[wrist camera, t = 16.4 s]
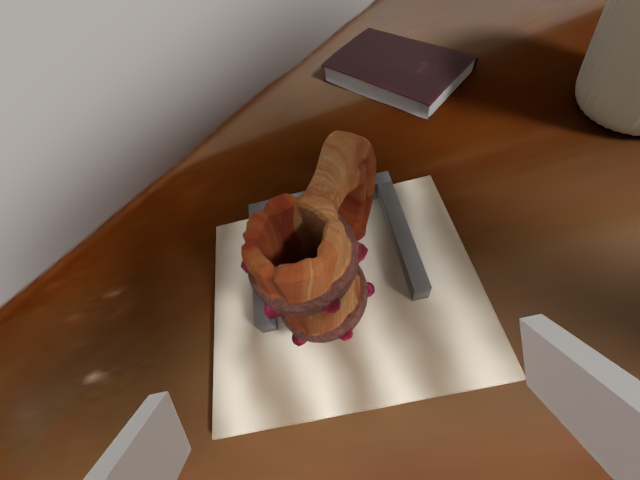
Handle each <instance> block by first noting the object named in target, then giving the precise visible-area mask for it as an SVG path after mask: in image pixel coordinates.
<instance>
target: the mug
mask: <svg viewBox="0 0 640 480" xmlns="http://www.w3.org/2000/svg"><path fill="white" fill-rule="evenodd" d="M375 179H376V158H375V153H374V150H373V147H372V145H371V143H370V142H369V141H368V140H367V139H366V138H364V137H362V136H359V135H356V134H353V133H351V132H344V131H339V130H336V131H334V132H332V133H331V134H330V135H328V137H327V139H326V140H325V142H324V144H323V146H322V149H321V153H320V156H319V160H318V163H317V167H316V171H315V174H314V176H313V178H312V180H311V182H310V184H309V185H308V187H307V189H306V191H305V192H304V193H303V194H302V195H301V196H297V197H295V196H293V195H291V194H287V193H284V194H281V195H278V196H276V197H273V198H271V199H270V200H269V201H267V202H266V203H265V206H264V209H263V210H262V211H258V212H255V213H254V214H252V215H251V217H250V218H249V220H248V221H247V226H246V231H245V232H244V233H243V238H244V240H245V244H243V245H242V246H241V255H242V260H243V261H242V263H241V268H242V269H243V270H244V271H245V272H246V273H248V278H249V281H250V284H251V287H252V288H253V290H254V292H255V293H256V295H257V296H258V297H259V298H260V299H261V300H262V301H263V302H264V303H265V304H264V312H265V315H266V316H267V317H268V318H269V320H270V319H273V318H276V317H279V316H281V319H282V321H283V322H284V324H285V326H286V327H287V328H288V329H289V330H290V331H291V332H292V333H293V334H292V341H293V343H294V344H295V345H297V346H301V345H303V344H305V343H306V342H307V341H309V342H313V343H327V342H332V341H334V340H337V339H341V340H343V341H347V340H349V339H351V338H352V336H353V331H352V330H353V329H354V328H355V326H356V325H357V324H358V323H359V321H360V320H361V318H362V316H363V314H364V311H365V308H366V305H367V299H368V297H370V296H372V295H373V294H374V292H375V288H374V285H373V284H372V283H370V282H366V279H365V276H364V273H363V271H362V269H361V268H360V266H359V262H361V261H362V260H363V259H364V258H365V256H366V254H367V252H368V249H367V248H366V246H365V245H364V244H362V243H359V242H358V241H359V240H360V239H362V238H363V237H364V236H365V234H366V226H367V222H368V218H369V214H370V210H371V205H372V200H373V195H374V190H375Z"/></svg>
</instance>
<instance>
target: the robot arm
mask: <svg viewBox="0 0 640 480" xmlns="http://www.w3.org/2000/svg"><path fill="white" fill-rule="evenodd" d="M519 321H520V330H521V339H522V348H523V357H524V366H525V374H526V383H527V386H528V387H529V388H530V389H531V390H532V391H533V392H534V394H535V395H536V396H537V397H538V398H539V399H540V400H541V401H542V402H543V403H544V404H545V406H546V407H547V408H548V409H549V410H550V411H551V412H552V413H553V414H554V415H555V416H556V417H557V419H558V420H559V421H560V422H561V423H562V424H563V425H564V426H565V427H566V428H567V429H568V431H569V432H570V433H571V434H572V435H573V436H574V437H575V438H576V439H577V440H578V441H579V442H580V444H581V445H582V446H583V447H584V448H585V449H586V450H587V451H588V452H589V453H590V454H591V456H592V457H593V458H594V459H595V460H596V461H597V462H598V463H599V464H600V465H601V466H602V467H603V469H604V470H605V471H606V472H607V473H608V474H609V475H610V476H611V477H612V478H613V479H614V480H640V380H638V379H637V378H635V377H634V376H632V375H631V374H630V373H628V372H627V371H625V370H624V369H622V368H621V367H619V366H618V365H616V364H615V363H613V362H612V361H610V360H609V359H607V358H606V357H605V356H603V355H602V354H600V353H599V352H597V351H596V350H594V349H593V348H591V347H590V346H588V345H587V344H585V343H584V342H582V341H581V340H579V339H578V338H577V337H575V336H574V335H572V334H571V333H569V332H568V331H566V330H565V329H563V328H562V327H560V326H559V325H557V324H556V323H554V322H553V321H552V320H550V319H549V318H547V317H546V316H544V315H543V314H538V315H533V316H528V317H523V318H519ZM190 451H191V446H190V444H189V442H188V439H187V437H186V434H185V432H184V429H183V427H182V424H181V422H180V420H179V417H178V415H177V412H176V410H175V407H174V405H173V403H172V400H171V398H170V395H169V393H168V391H165V392H161V393H156V394H151V395H149V396H148V397H147V398H146V399H145V401H144V402H143V403H142V405H141V406H140V407H139V408H138V410H137V411H136V412H135V414H134V415H133V416H132V417H131V419H130V420H129V421H128V423H127V424H126V425H125V426H124V428H123V429H122V430H121V432H120V433H119V434H118V435H117V437H116V438H115V439H114V441H113V442H112V443H111V444H110V446H109V447H108V448H107V450H106V451H105V452H104V453H103V455H102V456H101V457H100V458H99V460H98V461H97V462H96V464H95V465H94V466H93V467H92V469H91V470H90V471H89V473H88V474H87V475H86V476H85V478H84V479H83V480H177V479H178V477H179V474H180V472H181V470H182V468H183V466H184V464H185V462H186V460H187V458H188V456H189V454H190Z"/></svg>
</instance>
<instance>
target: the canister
mask: <svg viewBox="0 0 640 480" xmlns="http://www.w3.org/2000/svg"><path fill="white" fill-rule="evenodd" d="M575 96H576V100H577V103H578V105H579V106H580V109H581V110H582V111H584V114H585V115H586V116H588V117H589V118H590V120H593V121H595V122H596V123H597V124H599V125H602V126H604V127H605V128H608V129H611V130H613V131H616V132H620V133H622V134H629V135H632V136H640V0H607V3H606V5H605V8H604V10H603V12H602V15H601V17H600V20H599V22H598V24H597V27H596V29H595V32H594V34H593V37H592V39H591V42H590V44H589V47H588V50H587V52H586V55H585V57H584V60H583V63H582V65H581V68H580V71H579V74H578V76H577V80H576V85H575Z"/></svg>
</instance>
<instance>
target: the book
mask: <svg viewBox="0 0 640 480" xmlns="http://www.w3.org/2000/svg"><path fill="white" fill-rule="evenodd" d="M477 62H478V56H477V55H473V54H470V53H465V52H461V51H457V50H453V49H449V48H445V47H441V46H437V45H434V44H430V43H426V42H421V41H417V40H413V39H409V38H406V37H402V36H398V35H395V34H391V33H387V32H383V31H379V30H375V29H371V28H368V29H366V30H365V31H363V32H362V33H360V34H359V35H358V36H356V37H355V38H354V39H352V40H351V41H350V42H348V43H347V44H346V45H344V46H343V47H342V48H340V49H339V50H338V51H337V52H335V53H334V54H333V55H332V56H331V57H330V58H328V59H327V60H326V61H325V62H324V63H323V64H322V67H324V69H325V75H326V78H324V81H325V82H327V83H330V84H332V85H335V86H338V87H340V88H343V89H345V90H349V91H351V92H354V93H357V94H360V95H363V96H366V97H368V98H371V99H374V100H377V101H379V102H382V103H385V104H388V105H390V106H393V107H396V108H398V109H401V110H404V111H406V112H408V113H411V114H413V115H415V116H418V117H420V118H422V119H424V120H429V119H430V118H431V117H430V116H431V115H432V114H433V113H434V112H435V111H436V110H437V108H438V107H439V106H440V105H441V104H442V103H443V102H444V101H445V100H446V99H447V98H448V97H449V95H450V94H451V93H452V92H453V91H454V90H455V89H456V88H457V87H458V86H459V85H460V84H461V83H462V82H463V80H464V79H465V78H466V77H467V76H468V75H469V74H470V73H471V72H474V71H475V69H476V65H477Z"/></svg>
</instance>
